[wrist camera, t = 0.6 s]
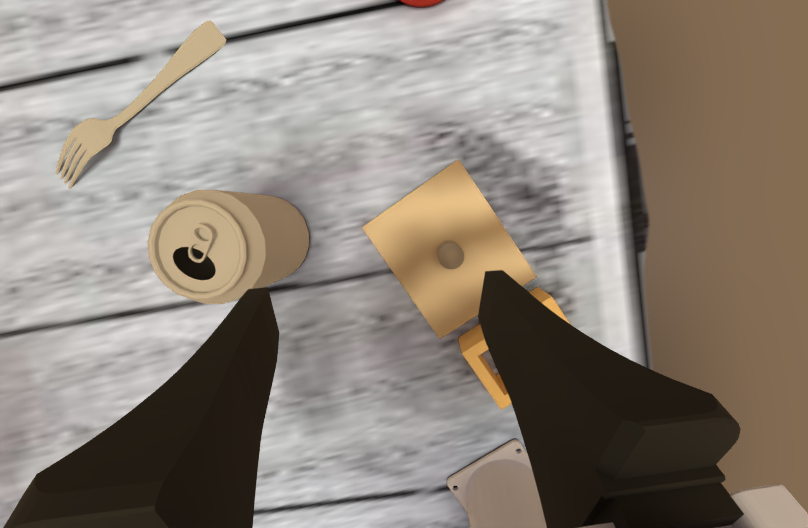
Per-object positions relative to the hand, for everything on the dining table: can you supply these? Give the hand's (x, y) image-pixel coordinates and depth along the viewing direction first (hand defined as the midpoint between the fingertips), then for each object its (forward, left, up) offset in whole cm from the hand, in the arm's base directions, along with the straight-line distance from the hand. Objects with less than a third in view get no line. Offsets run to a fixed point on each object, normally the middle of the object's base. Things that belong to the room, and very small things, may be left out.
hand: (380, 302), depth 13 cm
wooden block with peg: (-2, -3, -22) cm, 22 cm away
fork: (+24, +13, -23) cm, 35 cm away
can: (+8, +10, -22) cm, 26 cm away
